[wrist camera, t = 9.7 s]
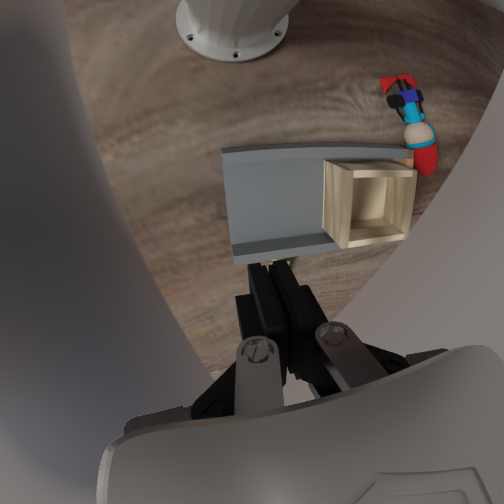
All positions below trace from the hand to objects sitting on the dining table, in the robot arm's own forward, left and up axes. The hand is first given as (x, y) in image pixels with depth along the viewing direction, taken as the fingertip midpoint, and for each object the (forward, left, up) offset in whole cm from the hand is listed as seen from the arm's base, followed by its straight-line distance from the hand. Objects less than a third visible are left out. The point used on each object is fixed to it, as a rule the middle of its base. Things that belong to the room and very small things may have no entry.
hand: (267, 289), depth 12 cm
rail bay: (+3, +12, -22) cm, 25 cm away
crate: (+3, +17, -21) cm, 27 cm away
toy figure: (-7, +26, -23) cm, 35 cm away
